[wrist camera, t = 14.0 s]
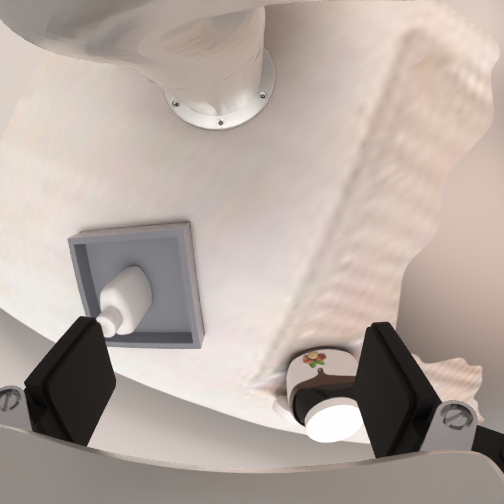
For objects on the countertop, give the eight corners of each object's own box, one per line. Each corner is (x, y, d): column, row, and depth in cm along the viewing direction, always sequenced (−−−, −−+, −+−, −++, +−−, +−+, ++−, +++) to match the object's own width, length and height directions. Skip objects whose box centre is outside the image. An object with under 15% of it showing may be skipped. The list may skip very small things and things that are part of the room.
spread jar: (355, 341, 41) (382, 395, 30) (348, 399, 45) (365, 453, 33) (269, 349, 42) (273, 408, 31) (272, 406, 45) (275, 465, 34)
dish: (81, 231, 37) (67, 238, 34) (189, 222, 37) (183, 228, 33) (104, 333, 41) (95, 345, 38) (204, 334, 41) (200, 348, 38)
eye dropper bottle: (120, 299, 39) (79, 349, 27) (125, 260, 37) (80, 302, 26) (151, 309, 39) (118, 364, 28) (157, 270, 38) (121, 317, 26)
